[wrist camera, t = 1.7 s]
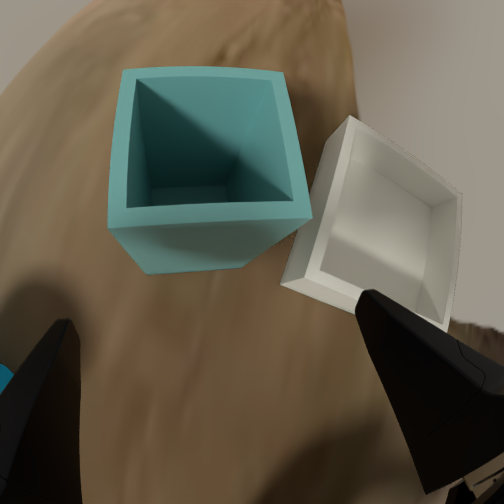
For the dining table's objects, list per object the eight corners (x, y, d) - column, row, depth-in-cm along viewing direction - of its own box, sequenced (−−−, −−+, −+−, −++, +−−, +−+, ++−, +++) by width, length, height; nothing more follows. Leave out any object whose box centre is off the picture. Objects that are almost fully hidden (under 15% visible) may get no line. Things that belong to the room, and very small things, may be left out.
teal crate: (240, 268, 21) (312, 217, 10) (146, 274, 20) (107, 228, 8) (231, 181, 23) (282, 72, 11) (144, 185, 21) (123, 69, 9)
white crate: (410, 335, 24) (446, 336, 20) (279, 284, 22) (304, 277, 18) (432, 207, 28) (462, 194, 23) (325, 141, 25) (349, 114, 21)
